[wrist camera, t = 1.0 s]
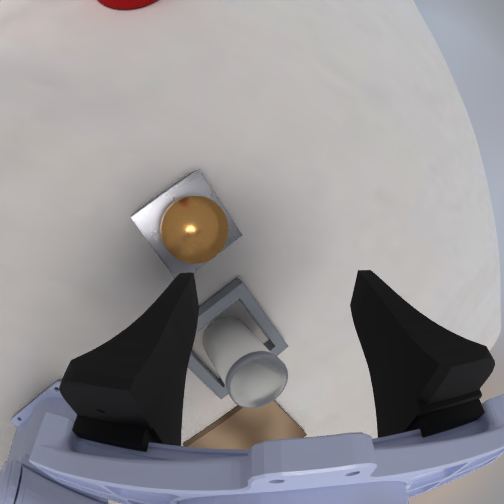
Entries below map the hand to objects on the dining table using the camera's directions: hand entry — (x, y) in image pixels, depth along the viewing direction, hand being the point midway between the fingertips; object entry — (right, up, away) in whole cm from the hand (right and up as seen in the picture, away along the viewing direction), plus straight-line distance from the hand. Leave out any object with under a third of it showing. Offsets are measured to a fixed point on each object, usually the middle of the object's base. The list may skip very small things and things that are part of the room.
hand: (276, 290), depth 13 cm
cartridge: (-4, -6, +15) cm, 16 cm away
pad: (-2, -20, +18) cm, 27 cm away
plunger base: (-7, +4, +12) cm, 14 cm away
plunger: (-6, +4, +9) cm, 12 cm away
